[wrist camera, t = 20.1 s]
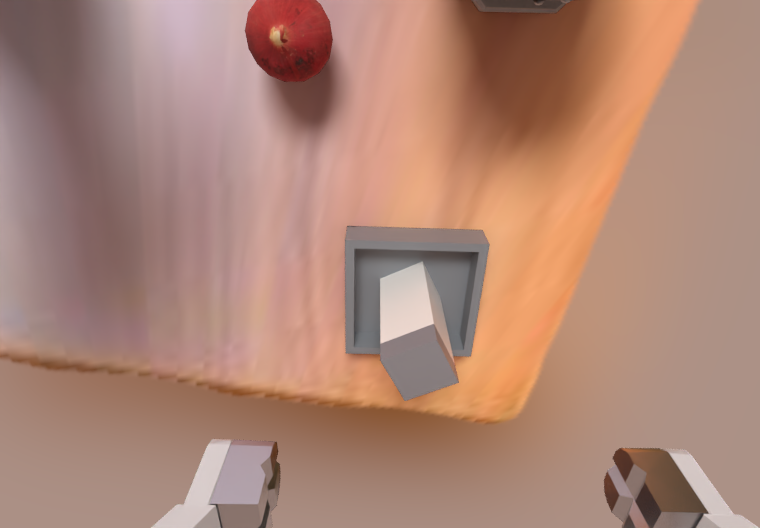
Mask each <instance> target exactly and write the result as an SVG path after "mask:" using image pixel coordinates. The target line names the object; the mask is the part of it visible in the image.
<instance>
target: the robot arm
mask: <svg viewBox="0 0 760 528" xmlns="http://www.w3.org/2000/svg"><path fill="white" fill-rule="evenodd" d="M277 455H278V447H277V442H273V441H252V440H227V439H212V440H211V441H210V443H209V444H208V445H207V447H206V450H205V452H204V455H203V457H202V460H201V463H200V465H199V467H198V470H197V472H196V475H195V477H194V480H193V482H192V485H191V487H190V490H189V492H188V494H187V497H186V499H185V502H184V504H177V505H176V506H175V507H173V508H172V509H171V510H170V511H169V512H168V513H167V514H166V515H164V516H163V517H162V518H161V519H160V520H159V521H158V522H157V523H156V524H154V525H153V526H152V527H151V528H272V518H271V511H272V510H273V509H274V508H275V507H276V506H277V500H278V495H279V488H280V464H279V463H278V462H277V461H276V459H277ZM613 460H614V462H615V464H616V465H615V466H613V467H612V468H610V469H609V470H608V471H607V473H606V476H605V479H604V492H605V496H606V500H607V503H608V505H609V507H610V509H611V512H612V513H613V514H614V515H615V516H617V517H618V518H619V519H620V520H621V521H622V522H623V524H622V528H758V527H757V526H755V525H754V524H753V523H751V522H750V521H749V520H747V519H746V518H744V517H743V516H742V515H734V514H733V513H732V511H731V510H730V508H729V507H728V506H727V504H726V503H725V501H724V500H723V499H722V497H721V496H720V494H719V493H718V492H717V490H716V489H715V487H714V486H713V485H712V483H711V482H710V481H709V479H708V478H707V477H706V475H705V474H704V472H703V471H702V469H701V468H700V467H699V466H698V464H697V463H696V461H695V460H694V459H693V457H692V456H691V454H690V453H688V452H687V451H686V450H684V449H659V448H620V449H618V450H617V451H616V452H615V454H614V456H613Z"/></svg>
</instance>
